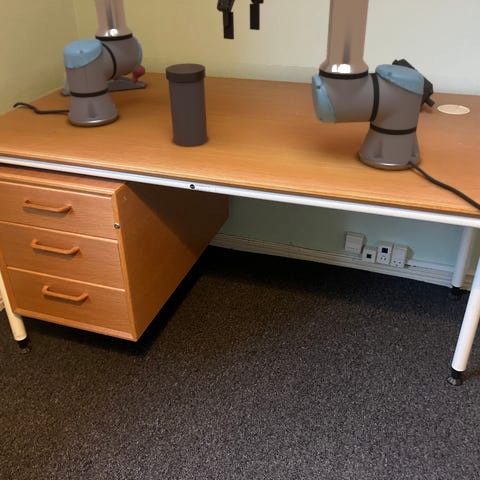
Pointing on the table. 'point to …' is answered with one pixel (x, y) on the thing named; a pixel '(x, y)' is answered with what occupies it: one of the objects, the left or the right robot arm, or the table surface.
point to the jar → (188, 112)
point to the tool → (426, 88)
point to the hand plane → (116, 82)
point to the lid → (185, 72)
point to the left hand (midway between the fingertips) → (242, 34)
